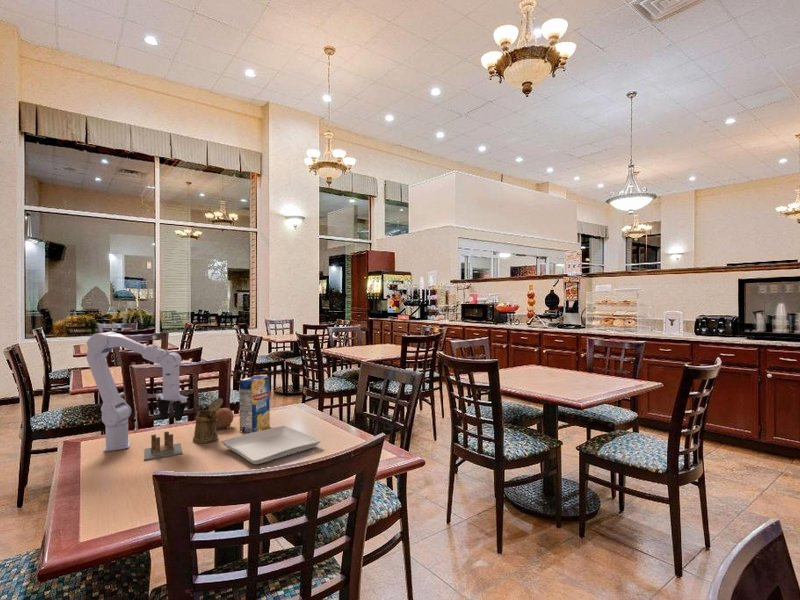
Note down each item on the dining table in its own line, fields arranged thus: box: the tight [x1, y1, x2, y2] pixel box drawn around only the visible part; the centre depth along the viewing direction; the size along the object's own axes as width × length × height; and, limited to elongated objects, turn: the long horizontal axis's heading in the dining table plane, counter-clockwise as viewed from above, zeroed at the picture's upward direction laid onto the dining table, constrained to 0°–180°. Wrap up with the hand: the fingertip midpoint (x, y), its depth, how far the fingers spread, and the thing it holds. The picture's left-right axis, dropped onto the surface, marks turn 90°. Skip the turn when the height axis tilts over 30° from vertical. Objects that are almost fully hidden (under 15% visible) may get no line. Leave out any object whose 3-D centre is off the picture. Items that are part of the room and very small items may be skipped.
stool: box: [150, 431, 174, 455], centre depth 158 cm, size 6×6×6 cm
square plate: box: [220, 425, 322, 465], centre depth 161 cm, size 27×27×4 cm
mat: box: [143, 442, 184, 461], centre depth 158 cm, size 12×12×1 cm
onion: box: [216, 407, 234, 430], centre depth 187 cm, size 10×9×10 cm
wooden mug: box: [192, 397, 224, 444], centre depth 170 cm, size 9×14×18 cm, turn 60°
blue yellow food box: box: [238, 375, 271, 434], centre depth 185 cm, size 7×11×22 cm, turn 157°
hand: (171, 419), depth 165 cm, fingers open, 7 cm apart
